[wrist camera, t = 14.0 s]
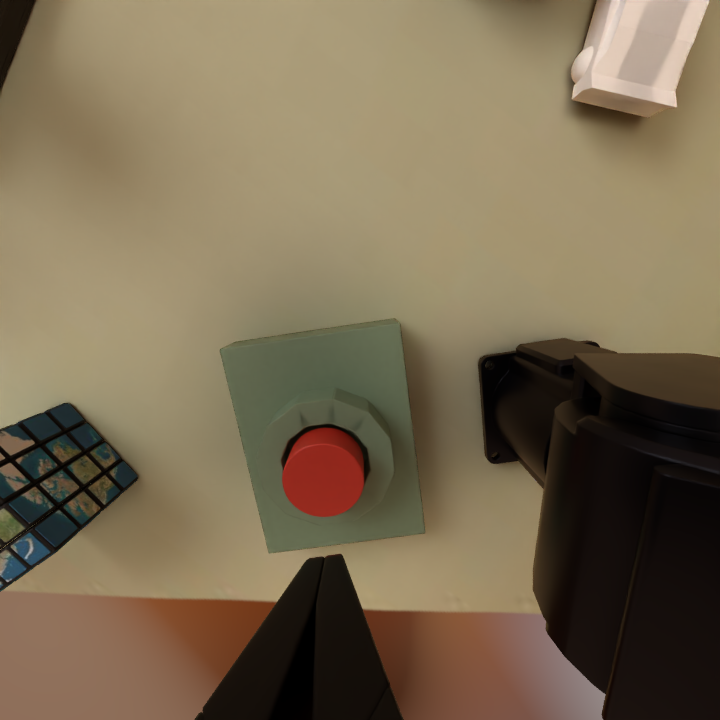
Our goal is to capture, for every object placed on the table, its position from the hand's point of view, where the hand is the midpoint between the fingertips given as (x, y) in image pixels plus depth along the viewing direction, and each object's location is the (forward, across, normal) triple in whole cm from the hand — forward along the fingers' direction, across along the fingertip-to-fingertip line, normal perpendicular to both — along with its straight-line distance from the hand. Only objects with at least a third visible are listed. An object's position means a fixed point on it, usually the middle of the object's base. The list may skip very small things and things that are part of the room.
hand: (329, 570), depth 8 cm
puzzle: (+12, +17, +1) cm, 21 cm away
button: (+8, +1, +2) cm, 9 cm away
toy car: (+12, -16, -16) cm, 26 cm away
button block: (+12, +1, +2) cm, 12 cm away
